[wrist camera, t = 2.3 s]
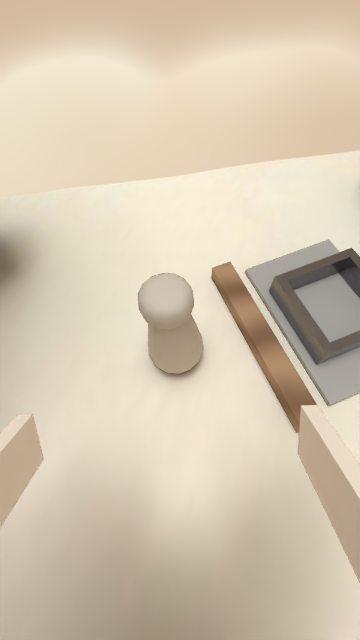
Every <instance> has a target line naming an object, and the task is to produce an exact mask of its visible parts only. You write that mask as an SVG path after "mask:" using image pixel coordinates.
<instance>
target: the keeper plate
mask: <svg viewBox="0 0 360 640" xmlns="http://www.w3.org/2000/svg"><path fill="white" fill-rule="evenodd" d="M245 273H246V275H247V276H248V278H249V280H250V281H251V283H252V285H253V286H254V288H255V289H256V291H257V293H258V294H259V296H260V297H261V299H262V301H263V302H264V304H265V305H266V307H267V309H268V310H269V312H270V313H271V315H272V317H273V318H274V320H275V321H276V323H277V325H278V326H279V328H280V330H281V331H282V333H283V334H284V336H285V338H286V339H287V341H288V342H289V344H290V346H291V347H292V349H293V350H294V352H295V354H296V355H297V357H298V358H299V360H300V362H301V363H302V365H303V366H304V368H305V370H306V371H307V373H308V375H309V376H310V378H311V379H312V381H313V383H314V384H315V386H316V387H317V389H318V391H319V392H320V394H321V395H322V397H323V399H324V400H325V402H326V403H327V405H328V406H330V405H332V404H334V403H337V402H339V401H341V400H343V399H346V398H348V397H350V396H353V395H355V394H357V393H359V392H360V257H359V255H358V254H357V253H356V252H355V251H354V250H353V249H352V248H350V249H347V250H345V251H342V252H339V251H338V250H337V249H336V247H335V246H334V245H333V244H332V243H331V241H330V240H329V239H328V240H326V241H323V242H320V243H318V244H315V245H312V246H309V247H307V248H304V249H301V250H298V251H296V252H293V253H290V254H287V255H285V256H282V257H279V258H276V259H274V260H271V261H268V262H265V263H263V264H260V265H257V266H254V267H252V268H249V269H246V271H245Z"/></svg>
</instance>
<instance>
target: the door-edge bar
mask: <svg viewBox="0 0 360 640" xmlns="http://www.w3.org/2000/svg"><path fill="white" fill-rule="evenodd" d="M212 279H213V281H214V283H215V285H216V286H217V288H218V290H219V292H220V294H221V296H222V297H223V299H224V301H225V303H226V305H227V307H228V308H229V310H230V312H231V314H232V316H233V317H234V319H235V321H236V323H237V325H238V327H239V328H240V330H241V332H242V334H243V336H244V338H245V339H246V341H247V343H248V345H249V347H250V349H251V350H252V352H253V354H254V356H255V358H256V359H257V361H258V363H259V365H260V367H261V369H262V370H263V372H264V374H265V376H266V378H267V380H268V381H269V383H270V385H271V387H272V389H273V391H274V392H275V394H276V396H277V398H278V400H279V402H280V403H281V405H282V407H283V409H284V411H285V412H286V414H287V416H288V418H289V420H290V422H291V423H292V425H293V427H294V429H295V431H296V433H297V432H299V427H300V413H301V406H302V405H317V404H316V402H315V401H314V399H313V398H312V396H311V394H310V393H309V391H308V389H307V388H306V386H305V384H304V383H303V381H302V379H301V378H300V376H299V374H298V373H297V371H296V369H295V368H294V366H293V364H292V363H291V361H290V360H289V358H288V356H287V355H286V353H285V351H284V350H283V348H282V346H281V345H280V343H279V341H278V340H277V338H276V336H275V335H274V333H273V331H272V330H271V328H270V326H269V325H268V323H267V322H266V320H265V318H264V317H263V315H262V313H261V312H260V310H259V308H258V307H257V305H256V303H255V302H254V300H253V298H252V297H251V295H250V293H249V292H248V290H247V288H246V287H245V285H244V284H243V282H242V280H241V279H240V277H239V275H238V274H237V272H236V270H235V269H234V267H233V265H232V264H231V262H227V263H225V264H222V265H219V266H216V267H214V268H212Z"/></svg>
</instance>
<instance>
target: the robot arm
mask: <svg viewBox="0 0 360 640" xmlns="http://www.w3.org/2000/svg"><path fill="white" fill-rule="evenodd" d="M298 455H299V457H300V459H301V461H302V463H303V465H304V467H305V469H306V472H307V474H308V476H309V478H310V480H311V482H312V484H313V486H314V488H315V490H316V492H317V495H318V497H319V499H320V501H321V503H322V505H323V507H324V509H325V511H326V513H327V515H328V517H329V520H330V522H331V524H332V526H333V528H334V530H335V532H336V534H337V536H338V538H339V540H340V543H341V545H342V547H343V549H344V551H345V553H346V555H347V557H348V559H349V561H350V563H351V566H352V568H353V570H354V572H355V574H356V576H357V578H358V580H359V582H360V463H359V462H358V461H357V459H356V458H355V456H354V455H353V454H352V452H351V451H350V449H349V448H348V447H347V445H346V444H345V442H344V441H343V440H342V438H341V437H340V436H339V434H338V433H337V431H336V430H335V429H334V427H333V426H332V424H331V423H330V422H329V420H328V419H327V418H326V416H325V415H324V413H323V412H322V411H321V409H320V408H319V406H318V405H302V406H301V413H300V427H299V440H298ZM43 459H44V458H43V454H42V450H41V446H40V442H39V438H38V434H37V430H36V425H35V421H34V417H33V414H20V415H17V416H16V417H15V418H14V419H13V420H12V421H11V422H10V424H9V425H8V426H7V427H6V428H5V429H4V430H3V431H2V432H1V433H0V527H1V526H2V524H3V522H4V521H5V519H6V518H7V516H8V515H9V513H10V511H11V510H12V508H13V507H14V505H15V504H16V502H17V500H18V499H19V497H20V496H21V494H22V492H23V491H24V489H25V488H26V486H27V485H28V483H29V481H30V480H31V478H32V477H33V475H34V474H35V472H36V470H37V469H38V467H39V466H40V464H41V462H42V461H43Z"/></svg>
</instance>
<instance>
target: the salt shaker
mask: <svg viewBox="0 0 360 640" xmlns="http://www.w3.org/2000/svg"><path fill="white" fill-rule="evenodd" d="M138 305H139V310H140V312H141V314H142V316H143V317H144V319H145V320H146V322H147V323H148V347H149V356H150V358H151V359H152V361H153V362H154V364H155V365H156V366H157V367H158V368H160V369H162V370H163V371H165V372H167V373H177V374H180V373H182V372H185V371H188V370H190V369H191V368H193V367H194V366H195V365H196V364H197V363H198V362H199V360H200V358H201V354H202V351H203V341H202V336H201V334H200V332H199V330H198V327H197V325H196V323H195V321H194V319H193V317H192V315H191V312H192V309H193V306H194V298H193V291H192V288H191V286H190V285H189V284H188V283H187V281H186V280H185V279H184V278H182V277H180V276H178V275H176V274H171V273H161V274H158V275H155V276H152V277H150V278H149V279H148V280H147V281H146V282H144V283H143V284H142V286H141V288H140V290H139V292H138Z"/></svg>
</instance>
